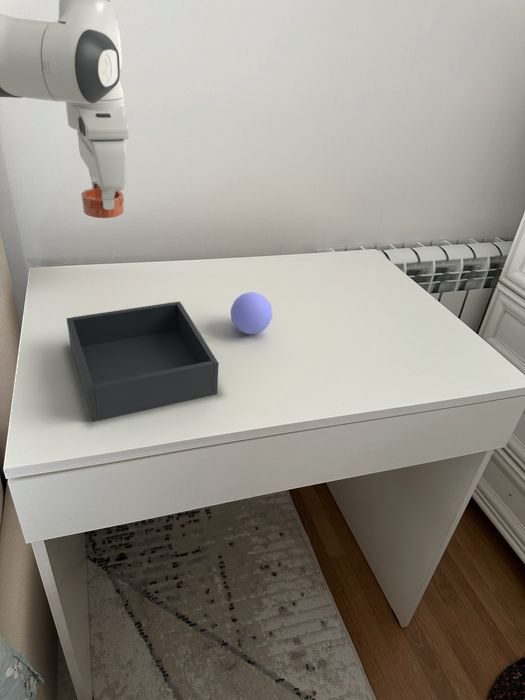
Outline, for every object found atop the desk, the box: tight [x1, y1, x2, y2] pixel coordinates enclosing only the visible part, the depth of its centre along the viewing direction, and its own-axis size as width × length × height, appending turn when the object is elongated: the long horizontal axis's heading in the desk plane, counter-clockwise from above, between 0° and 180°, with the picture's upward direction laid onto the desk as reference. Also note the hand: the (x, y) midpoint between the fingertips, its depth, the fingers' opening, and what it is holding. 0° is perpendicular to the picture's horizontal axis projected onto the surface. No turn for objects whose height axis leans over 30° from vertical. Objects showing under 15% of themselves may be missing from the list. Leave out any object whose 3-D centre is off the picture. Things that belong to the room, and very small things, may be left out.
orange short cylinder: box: [80, 187, 124, 219], centre depth 93 cm, size 7×7×3 cm
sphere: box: [230, 291, 273, 335], centre depth 89 cm, size 7×7×7 cm
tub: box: [66, 301, 219, 423], centre depth 78 cm, size 18×18×6 cm
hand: (103, 199), depth 93 cm, fingers closed on orange short cylinder, 7 cm apart
